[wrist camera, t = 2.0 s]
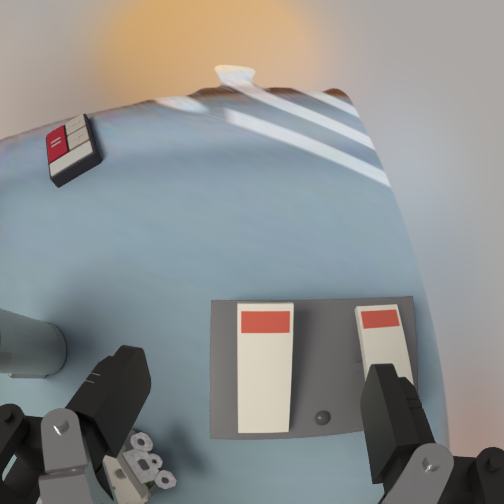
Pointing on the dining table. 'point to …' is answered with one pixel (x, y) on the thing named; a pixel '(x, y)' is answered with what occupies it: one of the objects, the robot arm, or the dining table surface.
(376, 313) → the rocker
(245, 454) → the dining table surface
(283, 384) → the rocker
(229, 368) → the rocker switch panel
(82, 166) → the calculator
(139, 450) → the grey boxy piece
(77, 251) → the dining table surface
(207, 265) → the dining table surface
